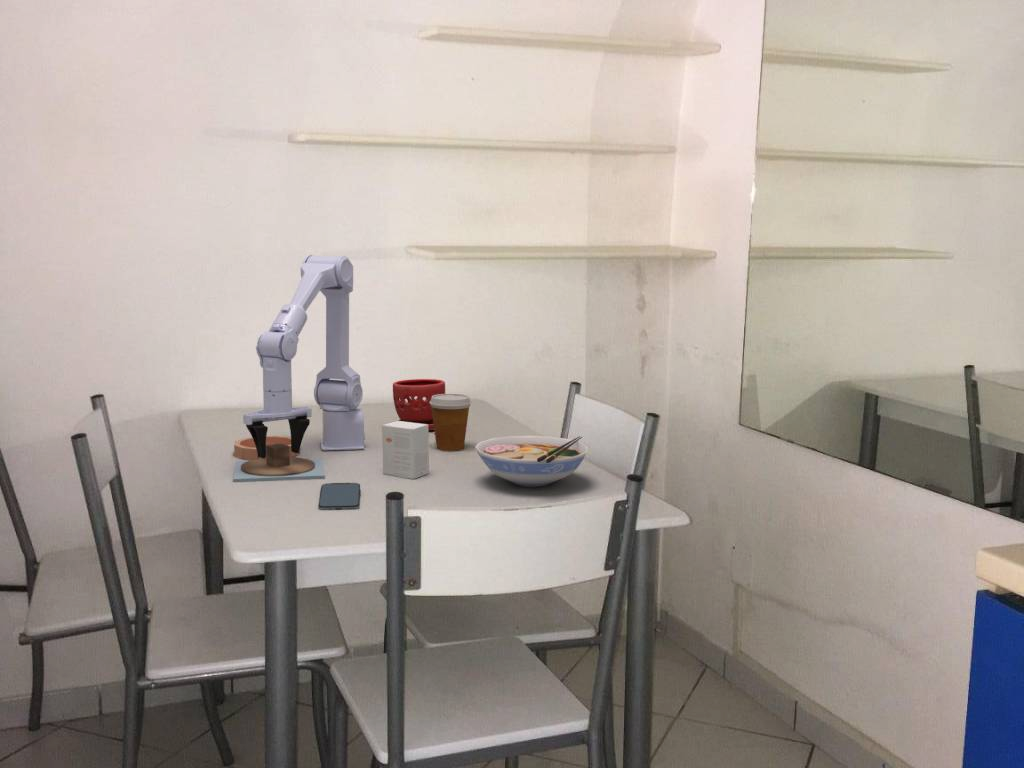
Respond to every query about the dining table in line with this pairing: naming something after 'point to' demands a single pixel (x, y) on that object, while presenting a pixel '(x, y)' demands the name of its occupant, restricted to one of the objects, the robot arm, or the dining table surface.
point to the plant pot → (417, 407)
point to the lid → (277, 463)
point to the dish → (248, 449)
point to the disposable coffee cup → (450, 420)
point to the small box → (405, 449)
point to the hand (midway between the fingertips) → (278, 454)
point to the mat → (313, 474)
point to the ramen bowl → (532, 458)
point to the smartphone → (339, 496)
